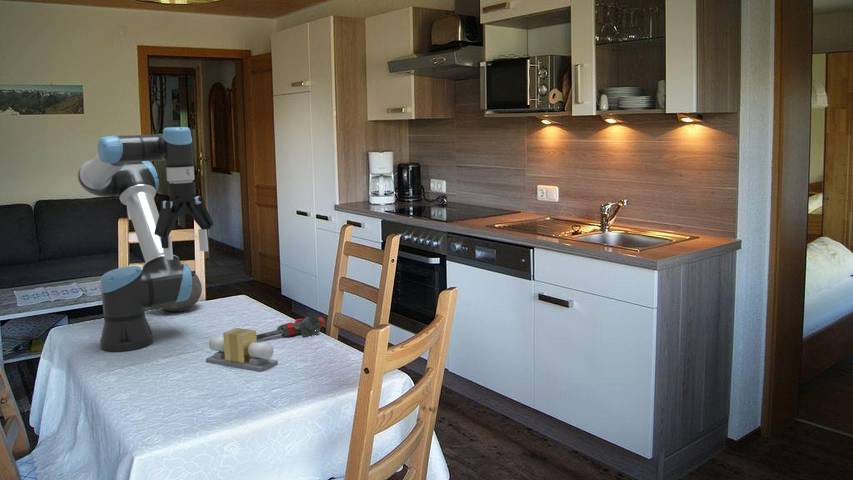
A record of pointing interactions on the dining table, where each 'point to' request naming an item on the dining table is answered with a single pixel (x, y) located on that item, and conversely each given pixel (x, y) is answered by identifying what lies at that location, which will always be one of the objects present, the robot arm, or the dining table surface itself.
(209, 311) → the dining table surface
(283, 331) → the valve
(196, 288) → the bowl
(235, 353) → the cardboard box
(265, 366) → the shaft bed
